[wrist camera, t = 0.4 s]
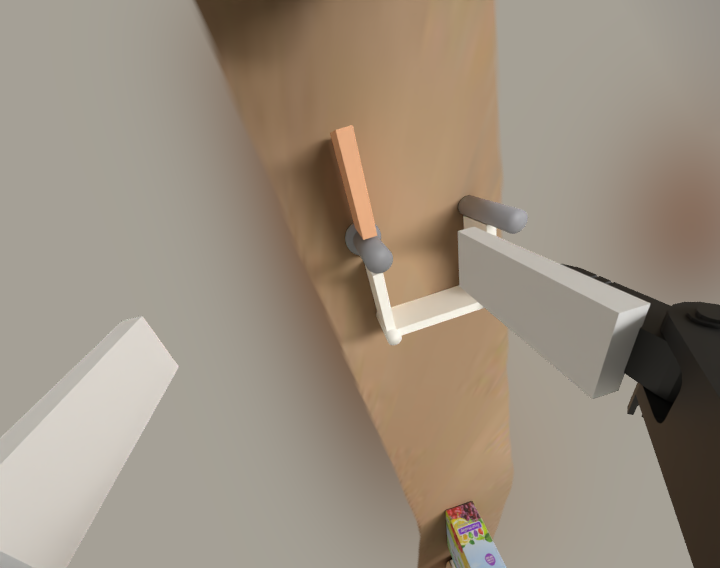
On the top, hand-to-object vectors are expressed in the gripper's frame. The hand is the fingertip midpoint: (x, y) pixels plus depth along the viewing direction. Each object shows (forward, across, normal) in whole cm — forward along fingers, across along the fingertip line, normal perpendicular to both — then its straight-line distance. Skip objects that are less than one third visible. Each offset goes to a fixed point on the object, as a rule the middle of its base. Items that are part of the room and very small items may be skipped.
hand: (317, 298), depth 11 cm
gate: (+21, +5, 0) cm, 22 cm away
